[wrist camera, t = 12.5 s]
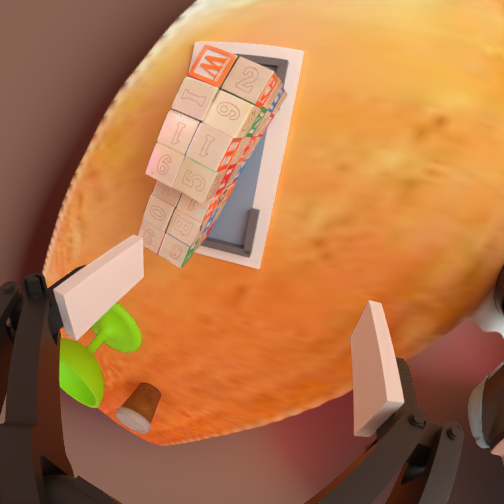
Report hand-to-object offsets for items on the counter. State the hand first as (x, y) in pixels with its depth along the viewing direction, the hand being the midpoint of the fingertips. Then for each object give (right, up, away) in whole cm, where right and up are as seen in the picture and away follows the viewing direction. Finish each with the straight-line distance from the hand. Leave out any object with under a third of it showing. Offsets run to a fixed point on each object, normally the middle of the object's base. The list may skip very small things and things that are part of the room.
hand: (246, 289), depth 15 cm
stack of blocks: (-3, +14, +17) cm, 22 cm away
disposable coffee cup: (-26, -34, +47) cm, 64 cm away
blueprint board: (-3, +15, +19) cm, 24 cm away
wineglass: (-31, -14, +39) cm, 51 cm away
